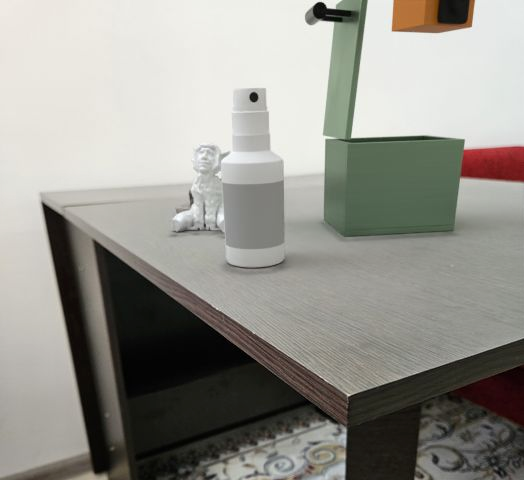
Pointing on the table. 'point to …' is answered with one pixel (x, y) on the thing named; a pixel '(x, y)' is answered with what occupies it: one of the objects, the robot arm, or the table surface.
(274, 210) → the spray bottle
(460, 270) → the table surface
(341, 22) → the bin lid
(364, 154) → the trash bin
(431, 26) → the orange rectangular block
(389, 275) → the table surface
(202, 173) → the sitting furry creature
